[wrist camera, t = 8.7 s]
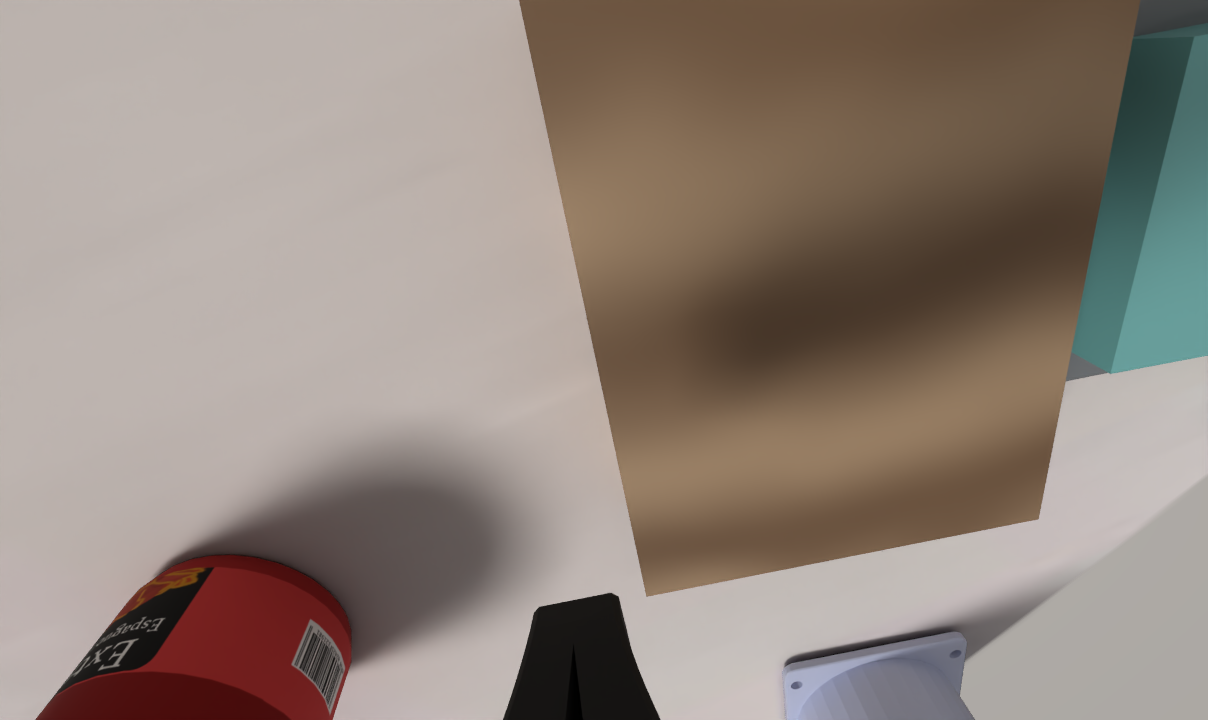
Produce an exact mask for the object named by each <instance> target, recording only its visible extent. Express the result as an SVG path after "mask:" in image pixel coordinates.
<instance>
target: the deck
mask: <svg viewBox="0 0 1208 720" xmlns="http://www.w3.org/2000/svg"><path fill="white" fill-rule="evenodd" d="M519 2H520V6H521V11H522V16H523V20H524V25H525V30H526V35H527V39H528V44H529V49H530V53H531V58H532V63H533V67H534V72H535V77H536V81H537V86H538V91H539V95H540V100H541V105H542V109H543V114H544V119H545V123H546V128H547V133H548V138H549V142H550V147H551V152H552V156H553V161H554V166H555V170H556V175H557V180H558V184H559V189H560V194H561V198H562V203H563V208H564V212H565V217H566V222H567V226H568V231H569V236H570V240H571V245H572V250H573V255H574V259H575V264H576V269H577V273H578V278H579V283H580V287H581V292H582V297H583V301H584V306H585V311H586V315H587V320H588V325H589V329H590V334H591V339H592V343H593V348H594V353H595V358H596V362H597V367H598V372H599V376H600V381H601V386H602V390H603V395H604V400H605V404H606V409H607V414H608V418H609V423H610V428H611V432H612V437H613V442H614V446H615V451H616V456H617V461H618V465H619V470H620V475H621V479H622V484H623V489H624V493H625V498H626V503H627V507H628V512H629V517H630V521H631V526H632V531H633V535H634V540H635V545H636V549H637V554H638V559H639V564H640V568H641V573H642V578H643V582H644V587H645V592H646V596H652V595H657V594H663V593H668V592H673V591H678V590H683V589H688V588H693V587H698V586H703V585H708V584H713V583H718V582H723V581H728V580H733V579H738V578H743V577H748V576H754V575H759V574H764V573H769V572H774V571H779V570H784V569H789V568H794V567H799V566H804V565H809V564H814V563H819V562H824V561H829V560H834V559H839V558H845V557H850V556H855V555H860V554H865V553H870V552H875V551H880V550H885V549H890V548H895V547H900V546H905V545H910V544H915V543H920V542H925V541H930V540H936V539H941V538H946V537H951V536H956V535H961V534H966V533H971V532H976V531H981V530H986V529H991V528H996V527H1001V526H1006V525H1011V524H1016V523H1021V522H1027V521H1032V520H1037V519H1039V514H1040V509H1041V504H1042V499H1043V493H1044V488H1045V483H1046V478H1047V473H1048V468H1049V463H1050V458H1051V453H1052V448H1053V442H1054V437H1055V432H1056V427H1057V422H1058V417H1059V412H1060V407H1061V402H1062V397H1063V392H1064V386H1065V381H1066V376H1067V371H1068V366H1069V361H1070V356H1071V351H1072V346H1073V341H1074V335H1075V330H1076V325H1077V320H1078V315H1079V310H1080V305H1081V300H1082V295H1083V290H1084V284H1085V279H1086V274H1087V269H1088V264H1089V259H1090V254H1091V249H1092V244H1093V239H1094V234H1095V228H1096V223H1097V218H1098V213H1099V208H1100V203H1101V198H1102V193H1103V188H1104V183H1105V177H1106V172H1107V167H1108V162H1109V157H1110V152H1111V147H1112V142H1113V137H1114V132H1115V127H1116V121H1117V116H1118V111H1119V106H1120V101H1121V96H1122V91H1123V86H1124V81H1125V76H1126V70H1127V65H1128V60H1129V55H1130V50H1131V45H1132V40H1133V35H1134V30H1135V25H1136V19H1137V14H1138V9H1139V4H1140V0H519Z"/></svg>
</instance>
